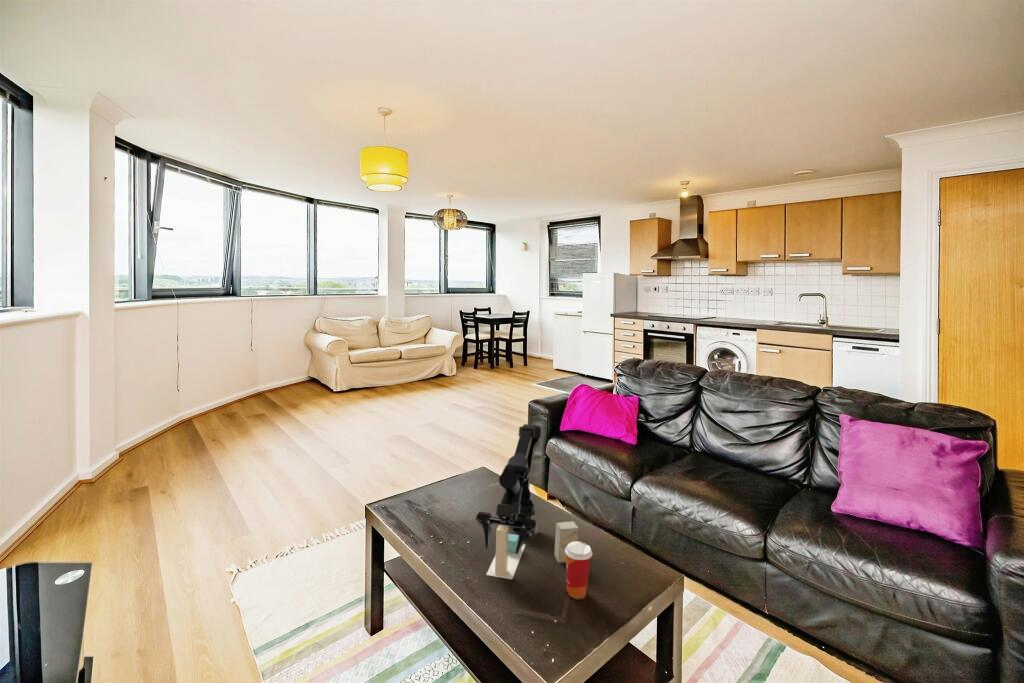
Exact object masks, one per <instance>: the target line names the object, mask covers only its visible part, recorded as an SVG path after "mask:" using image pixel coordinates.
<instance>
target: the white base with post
mask: <svg viewBox="0 0 1024 683" xmlns="http://www.w3.org/2000/svg"><path fill="white" fill-rule="evenodd" d="M509 529H510V527H509V526H504V525H498V526H497V528H496V530H495V531H496V533H495V555H494V558H493V559H492V562H491V564H490V566H489V568H488V570H487V572H486V574H485V575H486V576H491V577H495V578H502V579H507V580H513V578H514V576H515V573H516V570H517V568H518V565H519V564H520V560H521V558H522V554H523V553H524V550H525V548H526V544H525V543H524V544H523V546H522V547H521V549H520V551H519V553H518V554H517V555H516V553H511V552H508V534H509Z"/></svg>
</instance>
